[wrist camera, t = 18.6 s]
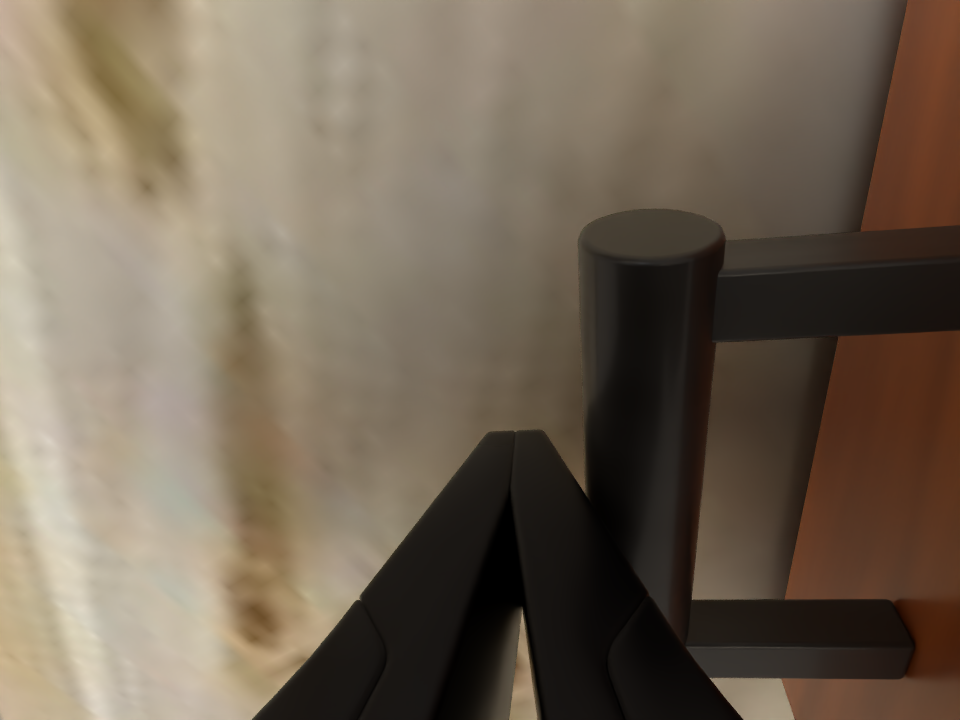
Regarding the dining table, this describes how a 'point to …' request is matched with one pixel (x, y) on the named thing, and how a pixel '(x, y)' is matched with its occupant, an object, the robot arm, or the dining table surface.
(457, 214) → the dining table surface
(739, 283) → the drawer
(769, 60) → the dining table surface
